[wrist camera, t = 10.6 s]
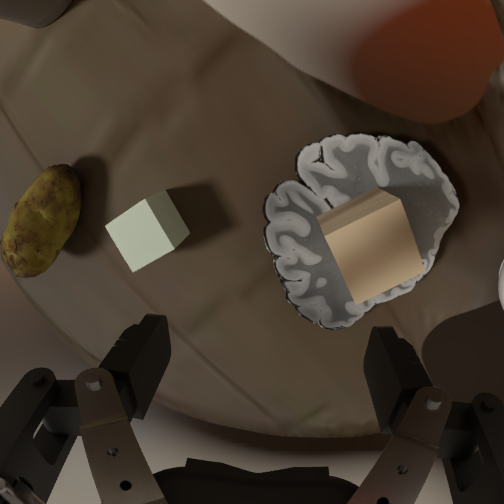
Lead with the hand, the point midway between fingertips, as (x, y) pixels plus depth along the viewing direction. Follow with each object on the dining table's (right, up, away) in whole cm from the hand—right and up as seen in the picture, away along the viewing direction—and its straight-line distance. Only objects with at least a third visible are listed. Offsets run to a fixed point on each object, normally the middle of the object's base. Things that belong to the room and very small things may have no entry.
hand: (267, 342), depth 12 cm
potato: (-23, +8, +20) cm, 32 cm away
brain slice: (+9, +6, +18) cm, 21 cm away
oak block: (+9, +5, +15) cm, 18 cm away
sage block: (-10, +6, +19) cm, 23 cm away
